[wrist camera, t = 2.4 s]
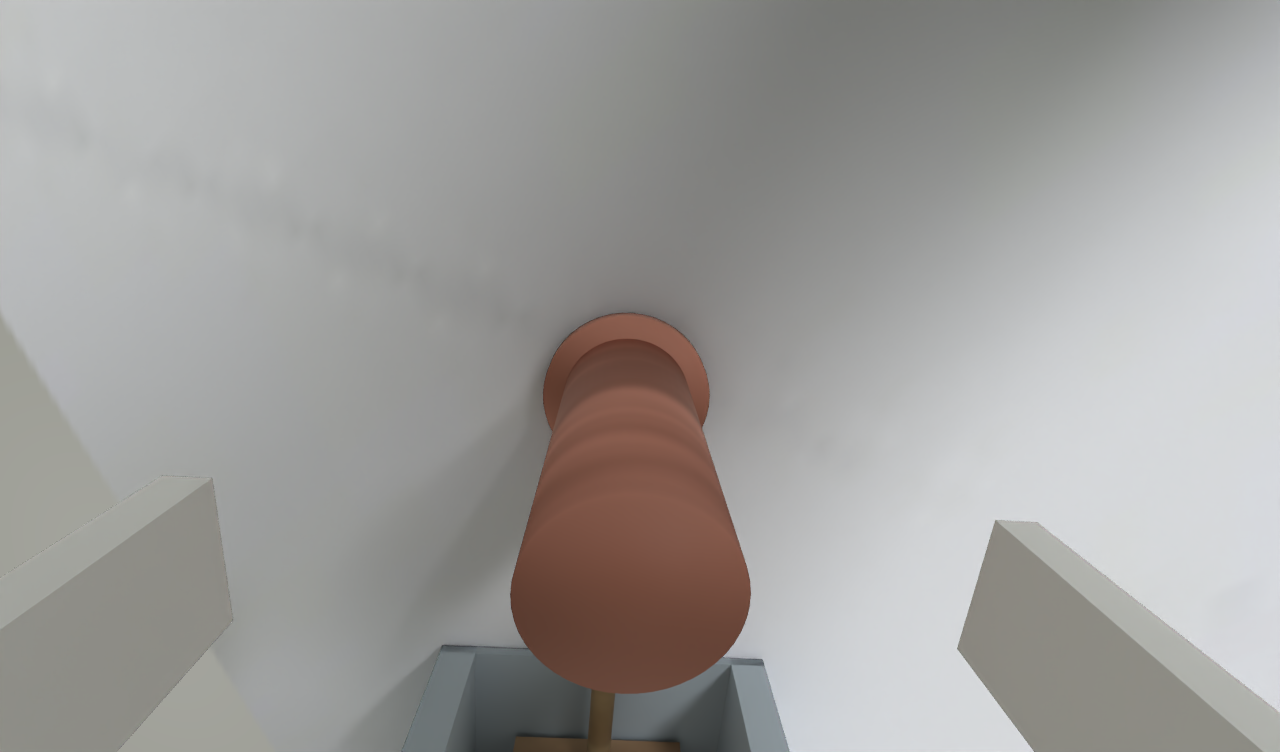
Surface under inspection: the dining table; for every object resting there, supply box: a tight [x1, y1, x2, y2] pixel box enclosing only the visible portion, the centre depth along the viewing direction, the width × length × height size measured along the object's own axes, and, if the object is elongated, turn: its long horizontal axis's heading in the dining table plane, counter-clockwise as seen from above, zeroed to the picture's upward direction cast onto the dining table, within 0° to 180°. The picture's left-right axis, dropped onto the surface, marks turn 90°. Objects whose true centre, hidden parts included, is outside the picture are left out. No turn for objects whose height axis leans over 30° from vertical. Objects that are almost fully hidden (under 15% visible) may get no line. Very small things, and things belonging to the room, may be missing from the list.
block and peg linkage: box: [510, 313, 751, 752], centre depth 16 cm, size 22×6×9 cm, turn 175°
